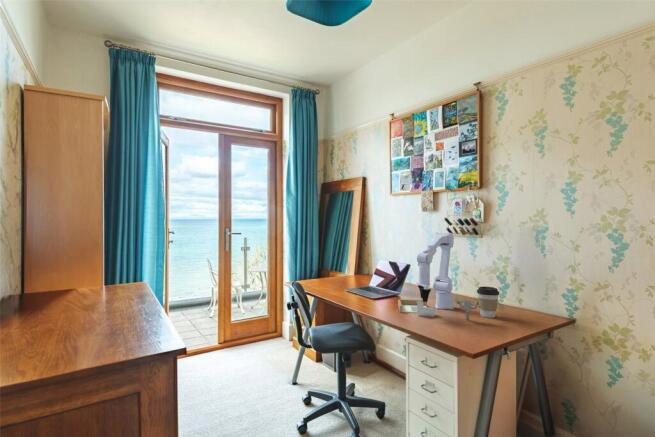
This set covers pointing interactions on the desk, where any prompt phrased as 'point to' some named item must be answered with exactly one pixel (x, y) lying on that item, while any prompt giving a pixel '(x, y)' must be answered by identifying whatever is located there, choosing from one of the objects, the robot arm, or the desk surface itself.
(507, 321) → the desk surface
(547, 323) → the desk surface
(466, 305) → the mechanical component
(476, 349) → the desk surface
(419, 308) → the bracket
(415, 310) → the corner arena
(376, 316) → the desk surface
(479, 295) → the coffee cup
